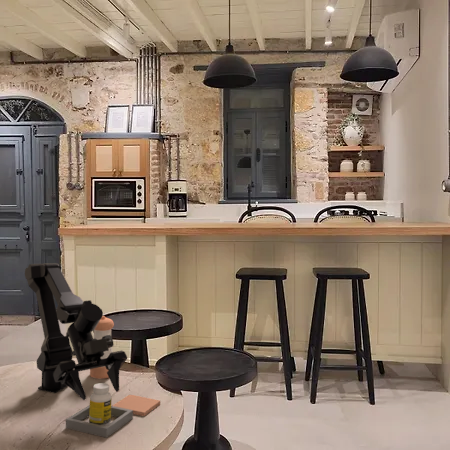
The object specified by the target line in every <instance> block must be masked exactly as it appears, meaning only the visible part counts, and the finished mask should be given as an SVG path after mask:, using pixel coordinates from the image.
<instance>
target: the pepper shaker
mask: <svg viewBox="0 0 450 450" xmlns="http://www.w3.org/2000/svg"><path fill="white" fill-rule="evenodd" d="M114 326H115V322H114V321H113V319H111V318H109V317H106V316H105V315H103V316H102V318H101V320H100V321H99V323H98V324H97V326H96V328H95V329H94V330H93V339H97V340H99V339H102V337H104V336H106V335H111V336H112V329H113V328H114ZM108 349H109V350H108V351H104V355H103V356H102V357H101V359H105V358H107V357H108V356H109V355H110V353H111V352H113V347H110V348H108ZM108 371H109V370H107V369H106V367H105V366H103V367H98V368H93V369H89V376H90V377H91V378H92V379H98V380H99V379H100V380H101V379H107V378H108V379H109V376H108V374H107V372H108Z"/></svg>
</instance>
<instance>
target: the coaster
mask: <svg viewBox="0 0 450 450" xmlns="http://www.w3.org/2000/svg"><path fill="white" fill-rule="evenodd" d="M160 405H161V400H159V399H154V398H149V397H144V396H141V395H140V396H139V395H133V394H128V395H127V396H125V397H123V398H122V399H121V400H119V401H117V402H116V403H114V404H113V405H112V406H115V407H120V408H125V409H129V410H133V415H135V416H136V415H137V416H140V417H141V416H142V417H145V416H147V415H148V414H149V413H151V412H152V411H153V410H154V409H156V408H157V407H158V406H160Z"/></svg>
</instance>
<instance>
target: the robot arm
mask: <svg viewBox="0 0 450 450" xmlns="http://www.w3.org/2000/svg"><path fill="white" fill-rule="evenodd" d="M24 278H25V280H26V281H27V284H28V287H29V288H30V289H31V290H32V291H33V292H34V293H35V297H36V299H37V306H38V310H39V316H40V322H41V325H42V331H43V337H44V340H43V342H42V343H41V346H40V351H41V352H40V354H39V356H38V358H37V359H36V368H37V369H38V370H39V371H40V372H41V386H39V387H37V390H38V391H39V390H40V391H45V392H49V393H57V392H60V391H62V390H64V389H65V388H67V387H68V388H69V389H71V390H72V391H73V392H74V393H75V394H76V395H77V396H78V397H79V398H80V399H82V400H83V401H86V399H87V396H86V392H85V389H84V386H83V384H82V381H81V378H80V374H79V373H80V372H82V371H90V369H93V368H98V367H103V366H105V367H106V369H107V370H109V371H108V372H107V374H108V376H109V377H108V379H109V380H110V383H111V385H112V387H113V389H114V390H115V392H116V393H118V392H119V391H120V371H121V370H120V369H121V368H122V366H123V365H124V364H125V363H126V362H127V360H128V355H127V353H126V351H124V350H116V351H112V352H111V353H110V355H109V356H108V357H107V358H105V359H101V357H102V356H103V355H104V351H108V350H109V349H108V348H110V347H112V348H113V347H114V345H115V344H114V339H113V338H112V334H111V335H106V336H104V337H102V339H99V340H97V339H94V335H93V334H92V332H94V329H95V328H96V326H97V324H98V323H99V321H100V320H101V318H102V316H104V315H103V314H104V312H103V309H102V308H100V306H99V305H98V304H95V303H93V302H92V300H83V299H82V298H81V297H80V296H78V295H76V294H74V292H73V291H72V289H71V287H70V285H69V284H68V283H69V282H68V281H67V280H66V278H65V276H64V274H63V271H62V268H61V265H60V263H57V262H54V263H53V262H52V263H49V262H47V263H45V262H44V263H31V264H29V265H28V266H27V267H26V268H25V269H24ZM55 301H56V303H55ZM56 304H57V306H56ZM60 324H61V325H62V324H63V325H66V324H70V325H69V327H68V328H67V330H66V333H65V335H64V334H63V333H62V331H61V326H60ZM71 345H72V346H71ZM74 356H75V357H76V360H73V357H74ZM76 361H77V363H76Z"/></svg>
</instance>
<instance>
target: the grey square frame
mask: <svg viewBox="0 0 450 450" xmlns="http://www.w3.org/2000/svg"><path fill="white" fill-rule="evenodd" d="M89 409H90V404H89V405H87V406H86V407H84V408H82V409H80V410H79V411H77V412H76V413H74V414H73V415H71V416H69V417H67V418H66V419H65V428H66V429H69V430H73V431H76V432H81V433H85V434H90V435H93V436H97V437H102V438H108V437H110V436H112V434H114V433H116V432H117V431H118V430H119V429H121V428H122V427H123V426H125V425H126V424H127V423H129V422H130V421H132V420H133V418H134V417H133V416H134V414H133V410H129V409H125V408H120V407H115V406H113V405H111V417H116V419H114V420H113V421H111V422H110V424H108V425H107V426H102V425H98V424H94V423H89V421H84V420H85V419H87V418H89Z"/></svg>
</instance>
